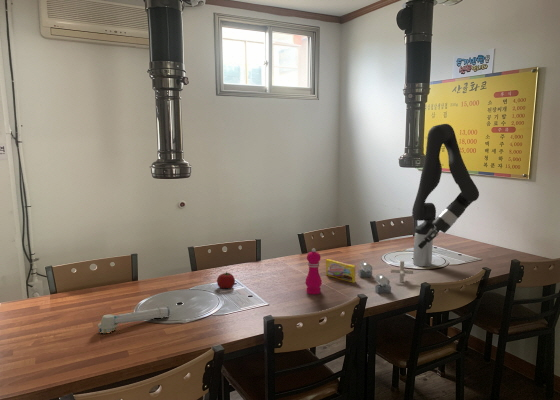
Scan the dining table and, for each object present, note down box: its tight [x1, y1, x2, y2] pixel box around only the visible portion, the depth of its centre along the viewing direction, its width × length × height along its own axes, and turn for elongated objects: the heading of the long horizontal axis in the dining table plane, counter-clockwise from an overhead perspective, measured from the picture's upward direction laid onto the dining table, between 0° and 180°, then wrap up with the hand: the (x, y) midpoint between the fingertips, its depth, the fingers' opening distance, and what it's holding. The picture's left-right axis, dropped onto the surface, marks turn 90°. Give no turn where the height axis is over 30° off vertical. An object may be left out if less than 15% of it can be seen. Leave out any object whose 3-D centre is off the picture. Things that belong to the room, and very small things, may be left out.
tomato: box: [216, 271, 236, 289], centre depth 186 cm, size 8×8×7 cm
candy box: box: [325, 258, 356, 284], centre depth 196 cm, size 16×2×8 cm, turn 47°
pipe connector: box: [390, 260, 414, 283], centre depth 191 cm, size 10×10×10 cm
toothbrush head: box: [97, 306, 171, 334], centre depth 151 cm, size 5×7×25 cm
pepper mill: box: [304, 248, 323, 295], centre depth 179 cm, size 7×7×20 cm
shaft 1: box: [357, 260, 373, 279], centre depth 198 cm, size 6×6×7 cm
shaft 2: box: [374, 273, 392, 295], centre depth 180 cm, size 6×6×7 cm
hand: (419, 247), depth 194 cm, fingers closed
